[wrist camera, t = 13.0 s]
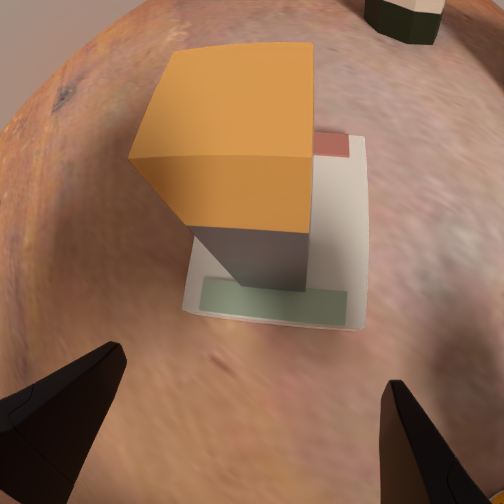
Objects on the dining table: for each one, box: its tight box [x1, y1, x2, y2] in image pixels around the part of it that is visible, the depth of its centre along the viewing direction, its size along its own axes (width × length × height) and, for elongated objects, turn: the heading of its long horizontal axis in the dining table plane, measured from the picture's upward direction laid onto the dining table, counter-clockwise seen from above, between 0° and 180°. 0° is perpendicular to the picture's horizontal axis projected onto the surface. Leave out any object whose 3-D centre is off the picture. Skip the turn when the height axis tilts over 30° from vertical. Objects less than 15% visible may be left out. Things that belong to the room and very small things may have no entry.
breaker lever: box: [127, 42, 314, 292], centre depth 10 cm, size 3×3×10 cm
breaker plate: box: [181, 132, 369, 331], centre depth 17 cm, size 11×9×2 cm
